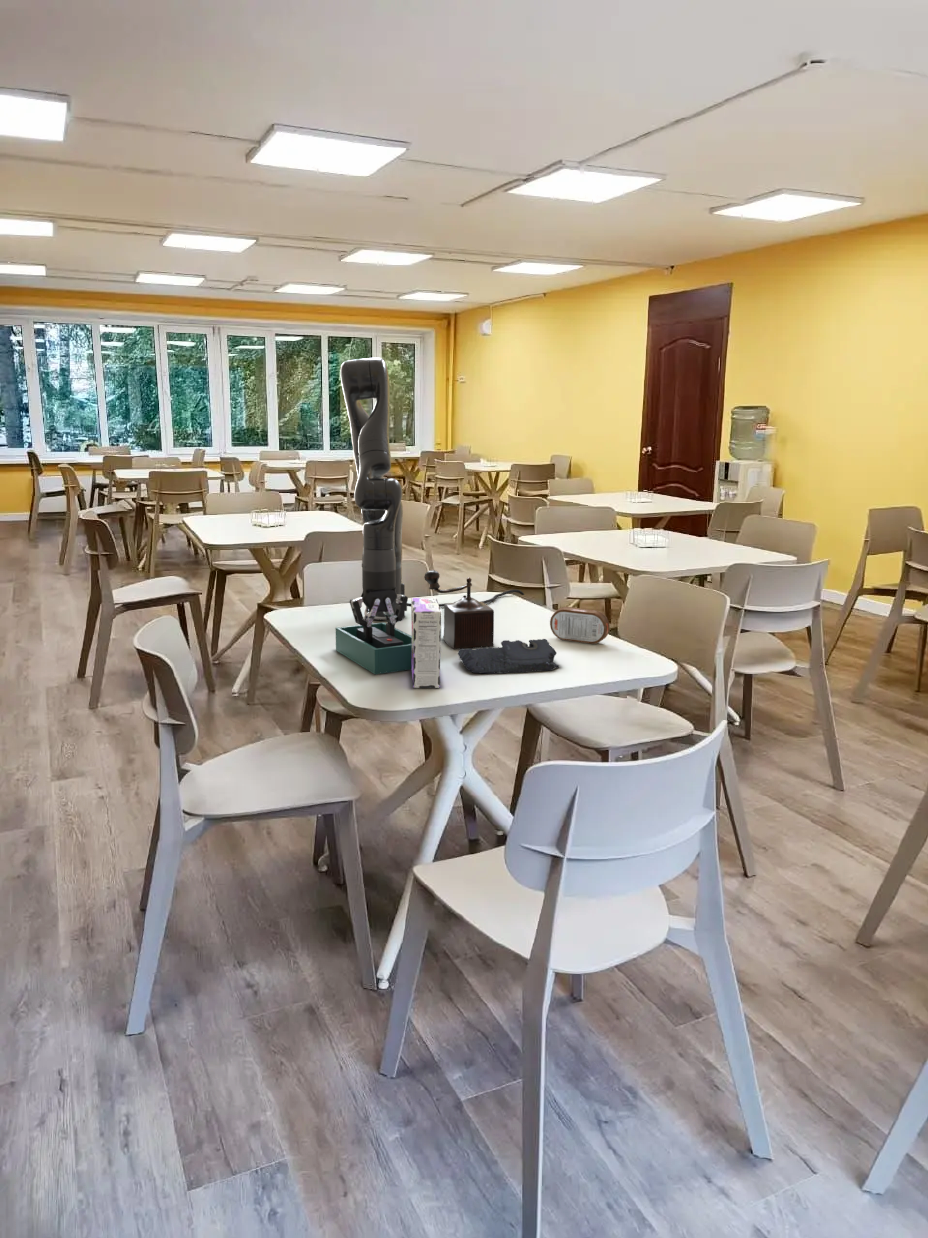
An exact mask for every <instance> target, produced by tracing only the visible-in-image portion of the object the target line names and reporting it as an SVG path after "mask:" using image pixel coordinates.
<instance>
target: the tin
mask: <svg viewBox="0 0 928 1238" xmlns="http://www.w3.org/2000/svg"><path fill="white" fill-rule="evenodd" d="M549 626H550V630H551V633H552V634H553V636H555V637H556V638H557V639H559V640H562V641H567V642H575V643H583V644H587V645H588V644H590V645H595V644H599V643H600V642H602V641H603V640H605V639H606V638H607V637H608V635H609V633H610V629H611V628H610V627H611V626H610V621H609V620H608V617H607V616H606V615H605V614H604V613H603V612H601V611H599V610H597V609H588V608H580V607H572V606H563V607H562V606H561V607H560V608H557V610H555V612H554V613H553V614H552V615H551V617H550V620H549Z"/></svg>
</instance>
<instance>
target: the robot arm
mask: <svg viewBox="0 0 928 1238" xmlns="http://www.w3.org/2000/svg"><path fill="white" fill-rule="evenodd" d="M340 381H341V387H342V393H343V396H344V397H343V398H344V402H345V407H346V411H347V415H348V420H349V426H350V435H351V444H352V452H353V459H354V462H355V464H354V465H355V468H356V474H357V481H356V484H355V488H354V493H353V499H354V502H355V505H356V506H357V508H358V509H360V511H361V520H362V524H363V525H362V555H361V576H362V578H361V579H362V581H361V582H362V583H361V584H362V588H361V589H362V593H361V595H360V597H357V598H355V599H354V598H351V599H349V605H350V608H351V611H352V616H353V618H354V622H355V623H356V625H362V626H363V627H364V640H366V642H368V643H372V627H371V626H372V624H373V622H374V621H383V622H384V621H385V622H386V633H387V634H389V635H391V636H393V637H394V636H395V628H396V624H397V623H399V622H402V621H403V619H404V618H405V617H406V612H408V607H411V602H410V603H409V602H408V601H409V598H408V596H406V595H405V592H406V591H405V589H406V588H405V587H406V586H405V583H403V575H402V574H403V573H402V571H403V564H402V563H403V561H402V560H403V559H402V558H403V556H402V555H403V553H402V552H403V551H402V549H403V548H402V547H403V546H402V542H403V537H402V535H403V519H404V517H403V516H404V506H403V502H402V500H403V488H402V484H401V483H400V482H399V481H398V479H396V478H388V477H387V478H386V477H385V478H384V476H385V475H386V474H388V473H389V472H390V470H391V467H392V455H391V446H390V439H389V424H390V376H389V370H388V366H387V363H386V361H385V360H384V359H383V358H382V357H369V358H359V359H358V358H357V359H349V360H344V361H343V362H342V364H341V365H340ZM374 399H375V404H374V406H373V409H372V411H371V413H370V415H369V414H368V412H367V411H366V410H365V408H364V406H363V404H362V403H361V401H362V400H363V401H365V400H374ZM512 593H518V594H520V595H521V596H524V595H525V593H524V592H523V591H522V590H520V589H510V590H507V591H503V592H501V593H497V594H495V595H494V596H493V597H492V598H489V599H486V600H482V601H480V602H483V603H485V604H488V603H491V602H494V601H495V600H496V599H497V598H500V597H503V596H506V595H509V594H512ZM438 604H439V608H444V603H438ZM363 605H365V609H364V613H362V609H361V608H362V607H363ZM363 614H364V616H363Z"/></svg>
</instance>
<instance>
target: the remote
mask: <svg viewBox="0 0 928 1238" xmlns="http://www.w3.org/2000/svg"><path fill="white" fill-rule="evenodd" d="M357 638H359V639H360V640H362V641H364V642H366V640H364V628H359V629H357ZM366 643H368V642H366ZM368 644H369V645H371V646H373V647H375V648H385V647H393V646H400V645H403V641H401V640H399V639H397V638H395V637H393V636H391V635H389V634H387V633H385V632H383V631H381V630H379V629H377V628H375V627H372V643H368Z"/></svg>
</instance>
